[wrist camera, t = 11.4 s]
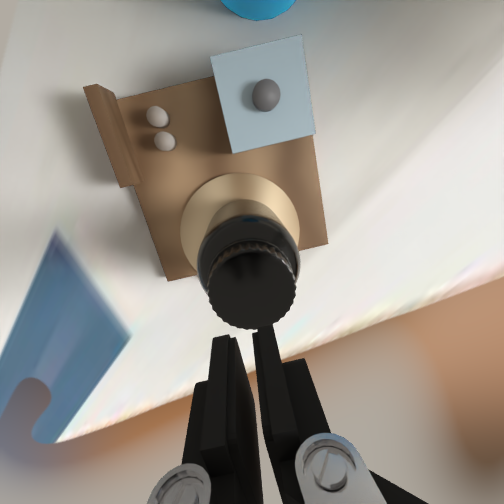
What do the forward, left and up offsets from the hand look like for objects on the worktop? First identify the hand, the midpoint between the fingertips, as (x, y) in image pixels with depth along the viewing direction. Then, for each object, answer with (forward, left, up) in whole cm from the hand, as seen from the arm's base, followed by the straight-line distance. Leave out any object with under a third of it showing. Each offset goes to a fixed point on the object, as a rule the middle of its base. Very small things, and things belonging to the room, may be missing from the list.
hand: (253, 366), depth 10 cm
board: (0, -5, -19) cm, 20 cm away
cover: (-4, -10, -18) cm, 21 cm away
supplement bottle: (0, 0, -18) cm, 18 cm away
